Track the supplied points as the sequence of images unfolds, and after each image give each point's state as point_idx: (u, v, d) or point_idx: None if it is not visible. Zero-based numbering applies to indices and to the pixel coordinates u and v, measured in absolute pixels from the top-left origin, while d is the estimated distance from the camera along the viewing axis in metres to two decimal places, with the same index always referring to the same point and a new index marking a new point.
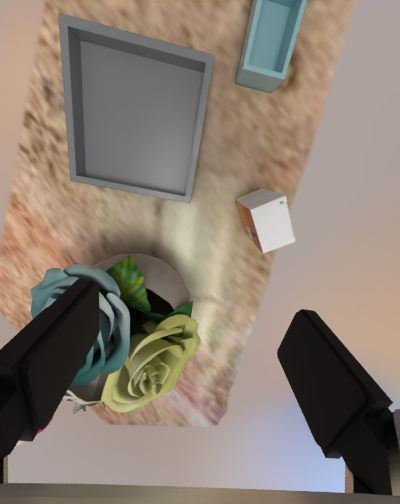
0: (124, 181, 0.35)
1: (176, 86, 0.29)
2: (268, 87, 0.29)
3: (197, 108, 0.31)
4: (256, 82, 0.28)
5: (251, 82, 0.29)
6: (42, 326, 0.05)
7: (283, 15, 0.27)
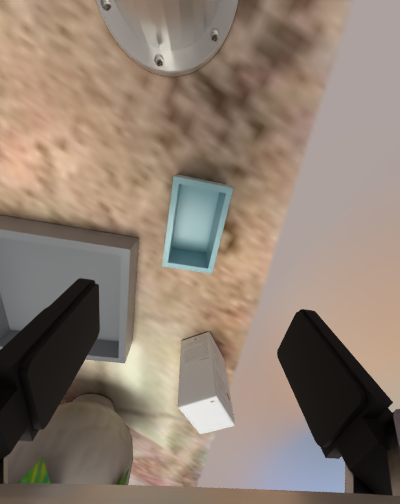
0: None
1: (98, 257, 0.26)
2: None
3: None
4: None
5: None
6: (42, 326, 0.05)
7: (212, 194, 0.23)
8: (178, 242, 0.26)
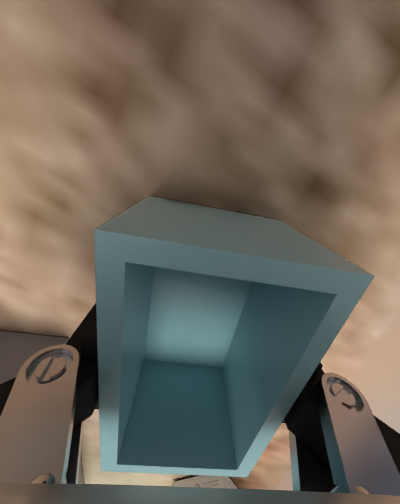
0: None
1: None
2: None
3: None
4: None
5: None
6: None
7: None
8: (158, 349, 0.11)
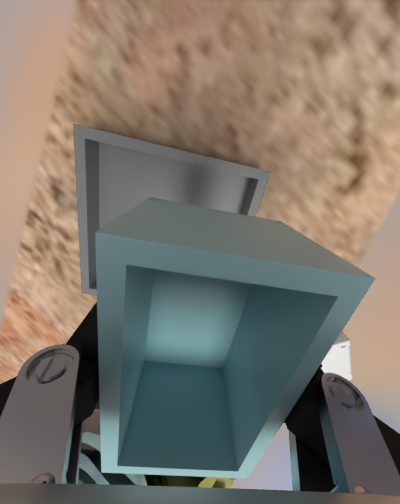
0: None
1: (215, 191, 0.24)
2: None
3: (238, 213, 0.25)
4: None
5: None
6: None
7: None
8: (158, 350, 0.11)
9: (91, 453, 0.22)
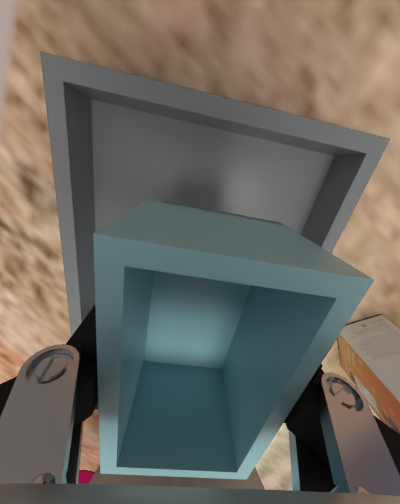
0: None
1: (274, 179, 0.15)
2: None
3: (306, 213, 0.16)
4: None
5: None
6: None
7: None
8: (158, 351, 0.11)
9: None
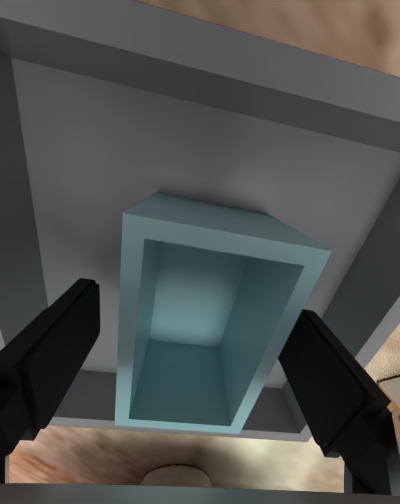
0: None
1: (316, 191, 0.10)
2: None
3: (359, 241, 0.11)
4: None
5: None
6: (43, 326, 0.05)
7: None
8: (162, 330, 0.12)
9: None
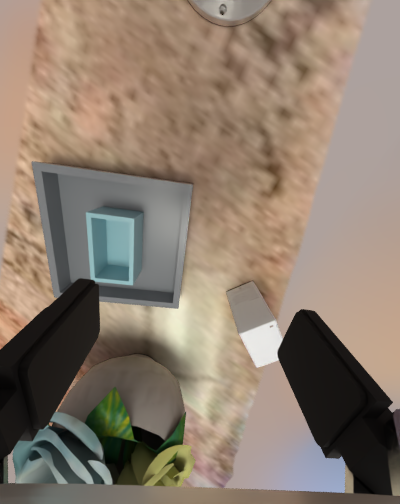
0: (110, 285, 0.34)
1: (157, 203, 0.29)
2: None
3: (180, 220, 0.30)
4: None
5: None
6: (42, 326, 0.05)
7: None
8: (112, 260, 0.31)
9: (62, 433, 0.26)
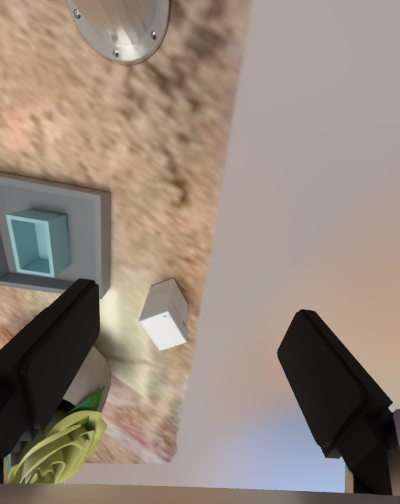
0: (45, 276, 0.39)
1: (79, 207, 0.33)
2: None
3: None
4: None
5: None
6: (42, 326, 0.05)
7: None
8: (43, 254, 0.36)
9: None
